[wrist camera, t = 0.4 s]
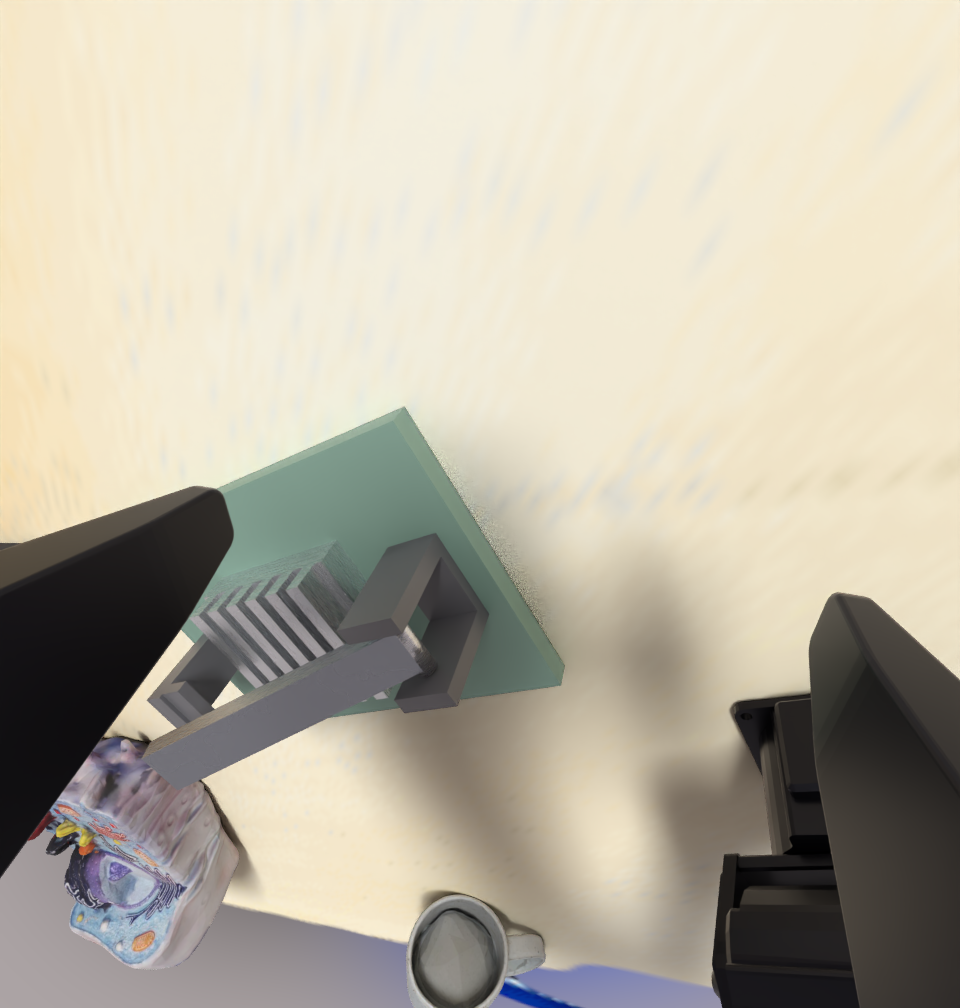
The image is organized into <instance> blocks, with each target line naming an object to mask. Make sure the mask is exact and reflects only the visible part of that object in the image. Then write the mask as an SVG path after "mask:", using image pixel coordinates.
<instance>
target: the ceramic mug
mask: <svg viewBox="0 0 960 1008" xmlns="http://www.w3.org/2000/svg"><path fill="white" fill-rule="evenodd" d="M545 959H546V954H545V950H544V946H543V941H542V938H541V937H540V936H538V935H534V934H521V935H511V936H506V933H505V930H504V928H503V926H502V924H501V922H500V920H499V918H498V917H497V915H496V914H495V913H494V912H493V911H492V909H491V908H489V907H488V906H487V905H486V904H485V903H483V902H481V901H480V900H478V899H476V898H473V897H470V896H467V895H449V896H446V897H442V898H441V899H439V900H437V901H435V902H434V903H432V904H431V905H430V906H429V907H428V908H426V909H425V910H424V912H423V913H422V914H421V915H420V917H419V918H418V920H417V921H416V923H415V925H414V927H413V930H412V932H411V935H410V938H409V942H408V947H407V954H406V963H407V988H408V993H409V997H410V1000H411V1002H412V1005H413V1007H414V1008H489V1006H490V1005H491V1004H492V1002H493V1001H494V1000H495V998H496V997H497V996H498V994H499V992H500V991H501V988H502V986H503V984H504V981H505V978H506V977H508V976H514V975H518V974H522V973H525V972H527V971H531V970H533V969H535V968H537V967H539V966H540V965H542V964H543V963H544V962H545Z"/></svg>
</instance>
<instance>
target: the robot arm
mask: <svg viewBox="0 0 960 1008" xmlns="http://www.w3.org/2000/svg"><path fill="white" fill-rule="evenodd" d="M233 539H234V528H233V525H232V521H231V518H230V515H229V511H228V508H227V504H226V501H225V498H224V495H223V494H222V493H221V492H220V491H219V490H217V489H215V488H209V487H203V486H192V487H189V488H186V489H183V490H180V491H177V492H174V493H171V494H168V495H165V496H162V497H159V498H156V499H153V500H150V501H147V502H144V503H141V504H138V505H135V506H132V507H129V508H126V509H123V510H120V511H117V512H114V513H111V514H108V515H105V516H102V517H99V518H96V519H93V520H90V521H87V522H84V523H81V524H78V525H75V526H72V527H69V528H66V529H63V530H60V531H57V532H54V533H51V534H48V535H45V536H42V537H39V538H36V539H33V540H30V541H27V542H24V543H21V544H18V545H15V546H12V547H9V548H6V549H3V550H0V878H1V876H2V875H3V874H4V872H5V871H6V870H7V868H8V867H9V866H10V864H11V863H12V861H13V860H14V859H15V857H16V856H17V855H18V853H19V852H20V850H21V849H22V848H23V846H24V845H25V844H26V842H27V841H28V839H29V838H30V837H31V835H32V834H33V833H34V831H35V830H36V828H37V827H38V826H39V824H40V823H41V821H42V820H43V819H44V817H45V816H46V815H47V813H48V812H49V810H50V809H51V808H52V806H53V805H54V804H55V802H56V801H57V799H58V798H59V797H60V795H61V794H62V793H63V791H64V790H65V788H66V787H67V786H68V784H69V783H70V782H71V780H72V779H73V777H74V776H75V775H76V773H77V772H78V771H79V769H80V768H81V766H82V765H83V764H84V762H85V761H86V760H87V758H88V757H89V755H90V754H91V753H92V751H93V750H94V749H95V747H96V746H97V744H98V743H99V742H100V740H101V739H102V737H103V736H104V735H105V733H106V732H107V731H108V729H109V728H110V726H111V725H112V724H113V722H114V721H115V720H116V718H117V717H118V715H119V714H120V713H121V711H122V710H123V709H124V707H125V706H126V704H127V703H128V702H129V700H130V699H131V698H132V696H133V695H134V693H135V692H136V691H137V689H138V688H139V687H140V685H141V684H142V682H143V681H144V680H145V678H146V677H147V676H148V674H149V673H150V671H151V670H152V669H153V667H154V666H155V664H156V663H157V662H158V660H159V659H160V658H161V656H162V655H163V653H164V652H165V651H166V649H167V648H168V647H169V645H170V644H171V642H172V641H173V640H174V638H175V637H176V636H177V634H178V633H179V631H180V630H181V628H182V627H183V626H184V624H185V623H186V621H187V620H188V618H189V617H190V615H191V613H192V612H193V610H194V608H195V607H196V605H197V603H198V602H199V600H200V598H201V596H202V595H203V593H204V591H205V590H206V588H207V586H208V584H209V583H210V581H211V579H212V578H213V576H214V574H215V573H216V571H217V569H218V567H219V566H220V564H221V562H222V561H223V559H224V557H225V555H226V554H227V552H228V550H229V549H230V547H231V545H232V542H233ZM809 668H810V686H811V695H805V696H795V697H786V698H777V699H767V700H758V701H749V702H741V703H738V704H736V705H735V707H734V715H735V719H736V721H737V723H738V725H739V727H740V729H741V732H742V734H743V736H744V738H745V740H746V742H747V744H748V746H749V749H750V751H751V753H752V755H753V757H754V759H755V761H756V763H757V766H758V768H759V770H760V772H761V774H762V776H763V783H764V791H765V799H766V807H767V815H768V824H769V832H770V840H771V848H772V855H749V856H740V855H739V854H738V853H735V854H724V862H723V872H722V874H721V877H720V887H719V897H718V907H717V918H716V928H715V938H714V949H713V959H712V965H713V972H712V986H713V989H714V992H715V993H716V995H717V996H718V997H719V998H720V1000H721V1004H722V1008H960V679H958V678H957V677H956V676H955V675H954V674H953V673H952V672H951V671H950V670H949V669H947V668H946V667H945V666H944V665H943V664H942V663H941V662H940V661H939V660H938V659H937V658H935V657H934V656H933V655H932V654H931V653H930V652H929V651H928V650H927V649H926V648H924V647H923V646H922V645H921V644H920V643H919V642H918V641H917V640H916V639H915V638H914V637H912V636H911V635H910V634H909V633H908V632H907V631H906V630H905V629H904V628H903V627H901V626H900V625H899V624H898V623H897V622H896V621H895V620H894V619H893V618H892V617H890V616H889V615H888V614H887V613H886V612H885V611H884V610H883V609H882V608H881V607H880V606H878V605H877V604H876V603H875V602H874V601H873V600H871V599H870V598H867V597H864V596H858V595H852V594H846V593H840V592H837V593H834V594H832V595H831V596H830V597H829V598H828V600H827V602H826V604H825V606H824V609H823V611H822V613H821V616H820V618H819V620H818V623H817V625H816V627H815V629H814V632H813V634H812V637H811V640H810V645H809Z"/></svg>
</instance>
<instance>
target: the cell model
mask: <svg viewBox="0 0 960 1008" xmlns="http://www.w3.org/2000/svg"><path fill="white" fill-rule="evenodd" d="M148 746H149V745H148V744H146V743H144V742H140V741H135V740H132V739H128V738H124V737H113V738H110V739H107V740H106V739H101V740H100V742H99V743H98V744H97V746H96V747H95V749H94V750H93V751H92V753H91V754H90V755H89V757H88V758H87V760H86V761H85V762H84V764H83V765H82V766H81V768H80V769H79V771H78V772H77V773H76V775H75V776H74V777H73V779H72V780H71V782H70V783H69V784H68V786H67V787H66V788H65V790H64V791H63V793H62V794H61V795H60V797H59V798H58V799H57V801H56V802H55V804H54V805H53V806H52V808H51V809H50V810H49V812H48V813H47V815H46V816H45V817H44V819H43V820H42V821H41V823H40V824H39V826H38V827H37V828H36V830H35V831H34V833H33V834H32V835H31V837H30V838H29V839H28V841H29V840H32V839H35V838H36V837H37V836H39V835H40V833H42V831H43V830H44V829H46V830H47V831H48V832H52V833H53V834H55V835H54V836H53V838H52V839H51V841H50V843H49V845H48V847H47V849H46V853H47V854H50V855H54V856H56V855H58V854H60V853H61V852H63V851H64V850H65V849H66V848H67V847H69V846H70V847H71V848H73V849H74V851H73V853H72V856H71V860H70V864H69V868H68V869H67V871H66V875H65V887H66V889H67V892H68V894H70V895H71V896H72V897H73V898H74V899H75V900H76V903H75V905H74V906H73V908H72V910H71V916H70V924H69V926H70V928H71V930H72V931H73V932H74V933H76V934H78V935H80V936H81V937H83V938H85V939H86V940H89V941H91V942H93V943H96V944H99V945H101V946H102V947H104V948H105V949H106V950H107V951H108V952H110V953H111V954H112V955H113V956H114V957H115V958H116V959H118V960H119V961H121V962H122V963H123V964H125V965H128V966H130V967H132V968H135V969H149V970H153V969H163V968H167V967H172V966H177V965H179V964H180V963H182V962H183V961H185V960H186V959H188V958H189V957H190V955H191V954H192V953H193V952H194V951H195V949H196V948H197V947H198V945H199V944H200V942H201V940H202V939H203V937H204V936H205V934H206V932H207V931H208V929H209V927H210V925H211V923H212V922H213V920H214V918H215V916H216V914H217V912H218V910H219V907H220V905H221V903H222V901H223V899H224V896H225V894H226V891H227V888H228V886H229V883H230V881H231V878H232V875H233V873H234V871H235V869H236V867H237V865H238V862H239V852H238V850H237V848H236V847H235V846H234V844H233V843H232V841H231V840H230V839H229V837H228V836H227V834H226V833H225V831H224V829H223V828H222V825H221V823H220V817H219V815H218V814H217V812H216V810H215V808H214V805H213V803H212V800H211V798H210V796H209V794H208V792H207V791H206V790H205V789H204V785H203V783H202V782H200V781H197V782H195V783H193V784H191V785H189V786H187V787H185V788H182V789H180V790H176V789H175V788H174V787H173V786H172V785H171V784H170V783H168V782H167V781H166V780H165V779H164V778H163V777H162V776H160V775H159V774H158V773H157V772H156V771H155V770H153V769H152V768H151V767H150V766H149V765H148V764H147V763H145V762H144V761H143V760H142V757H143V755H144V753H145V751H146V749H147V747H148Z"/></svg>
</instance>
